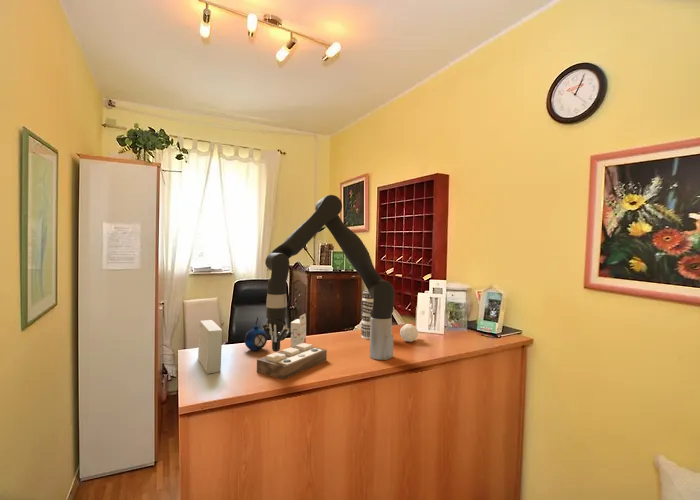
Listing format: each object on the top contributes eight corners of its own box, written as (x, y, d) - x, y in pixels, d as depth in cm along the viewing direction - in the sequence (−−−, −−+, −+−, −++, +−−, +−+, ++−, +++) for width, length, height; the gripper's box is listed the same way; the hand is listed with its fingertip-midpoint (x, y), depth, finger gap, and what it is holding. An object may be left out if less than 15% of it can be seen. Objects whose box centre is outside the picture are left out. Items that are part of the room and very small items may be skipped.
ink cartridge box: (296, 342, 169) (296, 312, 168) (306, 343, 168) (306, 313, 167) (290, 347, 160) (290, 316, 160) (300, 348, 159) (300, 316, 159)
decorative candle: (356, 336, 181) (357, 289, 181) (370, 333, 187) (370, 287, 187) (368, 340, 174) (368, 291, 174) (381, 337, 180) (382, 289, 179)
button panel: (326, 360, 143) (326, 349, 143) (283, 379, 122) (284, 367, 122) (300, 354, 151) (301, 344, 150) (256, 371, 130) (256, 359, 130)
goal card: (322, 350, 141) (322, 349, 141) (286, 365, 124) (286, 363, 124) (314, 348, 144) (314, 347, 144) (277, 362, 126) (277, 361, 126)
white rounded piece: (414, 341, 166) (425, 339, 175) (410, 322, 169) (421, 321, 178) (398, 344, 171) (410, 342, 180) (395, 325, 174) (407, 324, 183)
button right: (312, 351, 144) (312, 344, 144) (304, 355, 140) (304, 347, 140) (303, 349, 147) (303, 342, 147) (295, 352, 143) (295, 345, 143)
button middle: (299, 356, 138) (299, 349, 138) (290, 360, 134) (291, 352, 133) (290, 354, 140) (290, 347, 140) (281, 357, 136) (281, 350, 136)
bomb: (249, 355, 148) (250, 320, 148) (241, 349, 157) (241, 316, 156) (271, 351, 154) (271, 318, 153) (262, 345, 162) (262, 314, 162)
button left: (285, 362, 131) (285, 354, 131) (275, 366, 127) (276, 358, 127) (276, 359, 134) (276, 352, 134) (266, 363, 130) (266, 355, 130)
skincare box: (222, 371, 129) (222, 329, 128) (206, 374, 126) (207, 331, 126) (211, 356, 147) (211, 318, 146) (197, 358, 144) (198, 320, 143)
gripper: (296, 306, 130) (295, 351, 130) (271, 302, 137) (270, 345, 137) (282, 309, 123) (281, 357, 123) (256, 304, 130) (256, 350, 131)
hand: (275, 351), depth 130 cm, fingers closed
